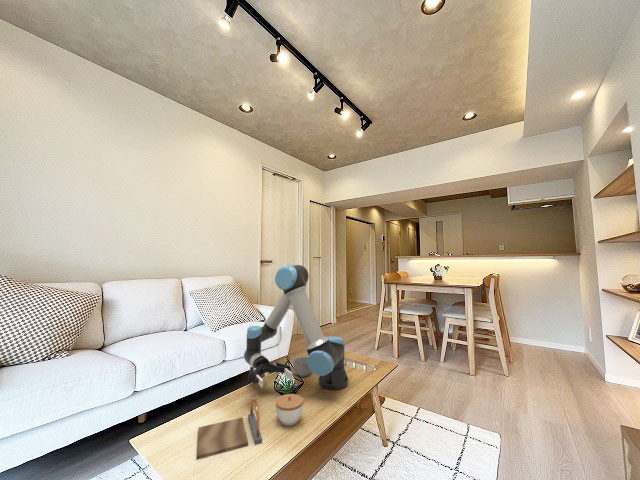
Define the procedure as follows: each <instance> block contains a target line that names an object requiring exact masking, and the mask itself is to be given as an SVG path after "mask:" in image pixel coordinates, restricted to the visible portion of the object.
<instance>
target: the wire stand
mask: <svg viewBox="0 0 640 480" xmlns="http://www.w3.org/2000/svg"><path fill="white" fill-rule="evenodd" d="M247 420H248V423H249V426H250V430H251V434H252V439H253V442H254V445H255V446H256V445H259V444H262V443H263V436H262V433H261V430H260V429H259V436H258V437H257V436H256V429H257V416H256V413H254V412H253V415H251V414H250V413H249V414H247Z"/></svg>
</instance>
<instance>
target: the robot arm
mask: <svg viewBox="0 0 640 480" xmlns="http://www.w3.org/2000/svg"><path fill="white" fill-rule="evenodd" d="M309 276H310V275H309V271H308V269H307V268H306V267H304V266H303V265H300V264H294V265H293V264H291V265H290V264H287V265H283V266H281V267H280V268H278V270H277V271H276V273H275V276H274V283H275V285H276V286H277V288H278V289H280V290H282V292H283V293H282V294H281V296H280V297H279V298H278V300H277V302H276V304H275V306H274V308H273V309H272V311H271V312H270V314H269V316H268V318H267V319H266V321H265V323H264V324H263V326H260V325H252V326H249V327H248V328H247V329H246V349H245V350H244V352H243V358H244V360H245V362H246V363H247V364H248V365H249V366H250V367H249V373H248V376H247V377H248V379H247V381H248V383H250V382H252V383H253V384H257V385H258V386H259V387H260V388H264V380H263V378H262V377H261V376H262V375H264V374H266V373H272V374H273V373H280V374H283V375H284V376H286V377H287V379H289V380H291V381H292V380H293V372H292V371H291V370H292V369H291V367H292V366H290V365H287V364H285V363H280V362H278V361H275V362H274V363H271V362H270V360H269V359H268V358H267V357H266V356H265V355H264V354H262V343H263V342H265V341H267V340H269V339H272V338H274V337H275V336H276V335H277V333H278V328H279V326H280V324H281V322H282V321H283V319H284V318H285V316H286V314H287V313H288V312H289V310H290V308H291V307H292V308H293V311H294V313H295V316H296V318H297V321H298V323H299V326H300V327H301V328H300V329H301V330H302V334H303V336H304V338H305V341H306V343H307V345H306V346H307V347H306V348H305V350H306V352H307V355H308V356H307V357H308V360H307V364H308V367H309V369H310V370H311V373H312V374H313V375H316V376H317V377H318V385H319V386H320V387H321V388H323V389H325V390H330V391H338V390H343V389H345V388H347V387H348V386H349V378H348V374H347V371H346V368H345V365H346V364H345V361H346V359H345V339H344V338H342V337H340V336H335V335H334V336H332V335H331V336H327V335H326V336H324V333H323V331H322V329H321V326H320V324H319V321H318V318H317V316H316V313H315V311H314V309H313V307H312V304H311V301H310V300H309V297H308V295H307V292H306V289H307V284H308V281H309V278H310V277H309ZM347 385H348V386H347ZM346 386H347V387H346Z"/></svg>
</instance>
